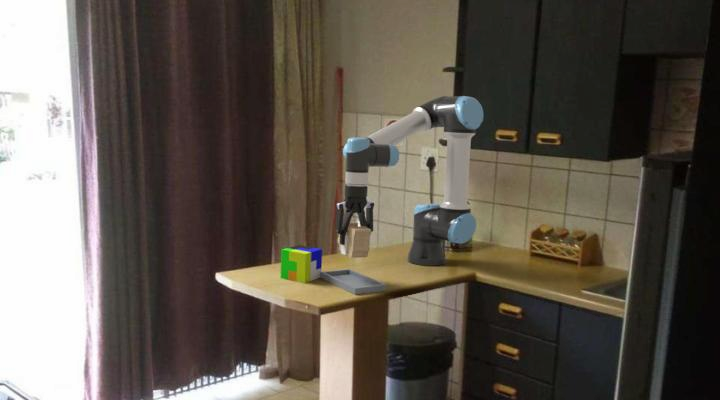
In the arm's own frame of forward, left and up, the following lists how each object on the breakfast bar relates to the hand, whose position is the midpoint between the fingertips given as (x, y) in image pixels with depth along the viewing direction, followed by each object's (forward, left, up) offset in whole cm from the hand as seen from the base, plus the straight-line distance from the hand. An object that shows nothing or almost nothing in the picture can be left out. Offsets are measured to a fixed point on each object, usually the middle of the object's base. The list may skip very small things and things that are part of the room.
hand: (353, 253), depth 212 cm
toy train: (0, 0, -1) cm, 1 cm away
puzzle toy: (+12, -14, -11) cm, 21 cm away
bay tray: (0, 0, -10) cm, 10 cm away
